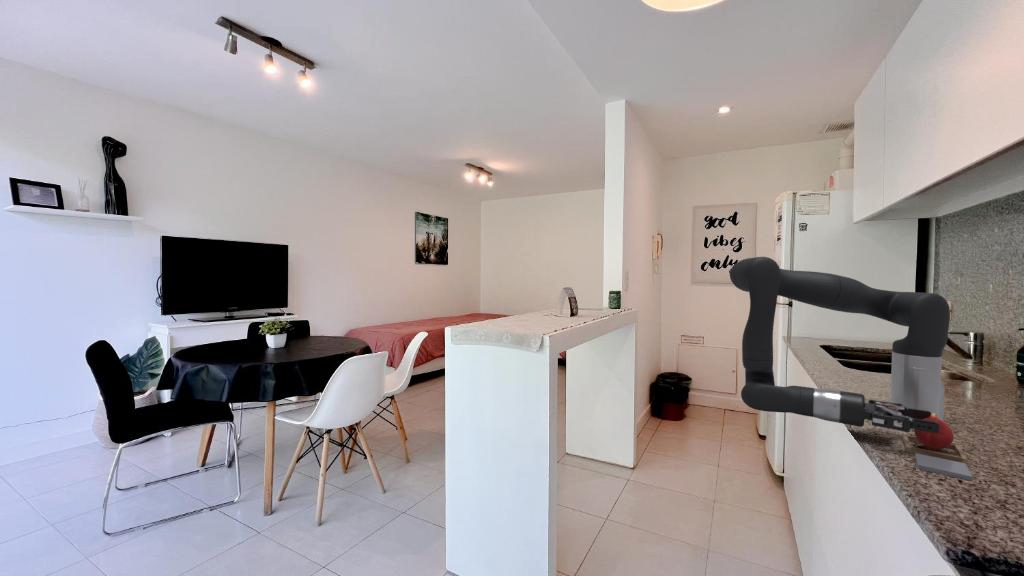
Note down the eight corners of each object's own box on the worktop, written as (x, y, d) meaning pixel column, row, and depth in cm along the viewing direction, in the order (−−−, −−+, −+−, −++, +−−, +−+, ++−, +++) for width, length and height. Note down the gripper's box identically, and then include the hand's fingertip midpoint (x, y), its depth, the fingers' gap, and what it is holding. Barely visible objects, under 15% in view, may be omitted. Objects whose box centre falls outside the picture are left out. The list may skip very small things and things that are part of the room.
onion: (957, 459, 83) (959, 420, 83) (918, 452, 86) (920, 415, 86) (946, 449, 88) (948, 412, 88) (910, 443, 91) (911, 407, 91)
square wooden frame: (902, 439, 93) (902, 434, 93) (959, 449, 88) (959, 445, 87) (906, 451, 87) (906, 446, 87) (967, 464, 81) (967, 459, 81)
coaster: (914, 456, 84) (915, 453, 84) (965, 467, 79) (965, 463, 79) (918, 469, 79) (918, 464, 79) (972, 481, 74) (972, 476, 74)
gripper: (838, 397, 91) (942, 413, 81) (838, 384, 102) (929, 397, 92) (837, 430, 91) (941, 450, 81) (837, 414, 103) (928, 429, 92)
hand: (934, 422), depth 87 cm, fingers open, 8 cm apart
